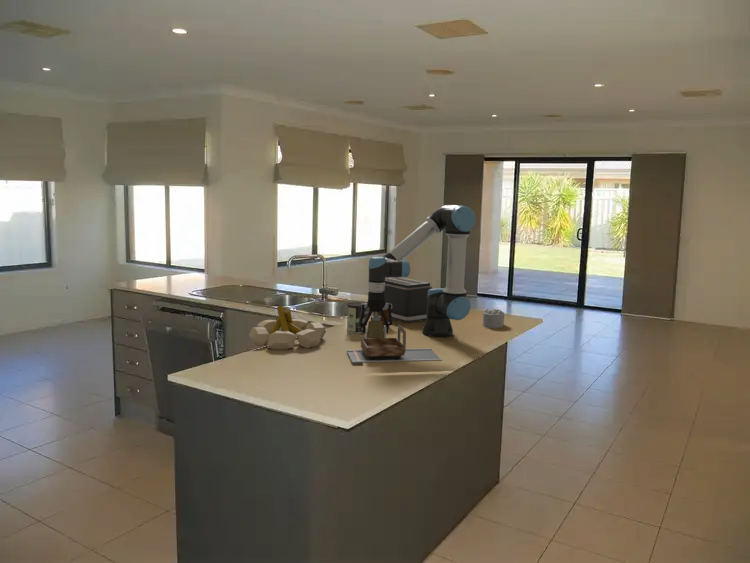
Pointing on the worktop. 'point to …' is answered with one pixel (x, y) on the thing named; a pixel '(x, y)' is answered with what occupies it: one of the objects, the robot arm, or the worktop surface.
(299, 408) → the worktop surface
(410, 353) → the track
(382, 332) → the squeeze bottle
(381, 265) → the robot arm
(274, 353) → the worktop surface
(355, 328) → the coffee can
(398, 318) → the toaster
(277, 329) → the campfire
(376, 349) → the cart
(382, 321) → the disposable coffee cup
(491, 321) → the lumpy-topped squat cylinder
